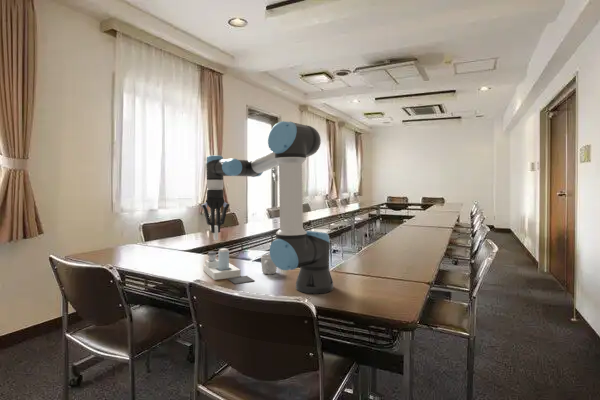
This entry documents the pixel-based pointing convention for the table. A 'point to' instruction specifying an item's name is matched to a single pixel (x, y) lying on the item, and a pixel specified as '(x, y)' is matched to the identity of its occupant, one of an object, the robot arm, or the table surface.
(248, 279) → the pad
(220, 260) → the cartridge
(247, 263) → the table surface
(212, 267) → the housing
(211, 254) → the plunger
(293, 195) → the robot arm
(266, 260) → the cup
